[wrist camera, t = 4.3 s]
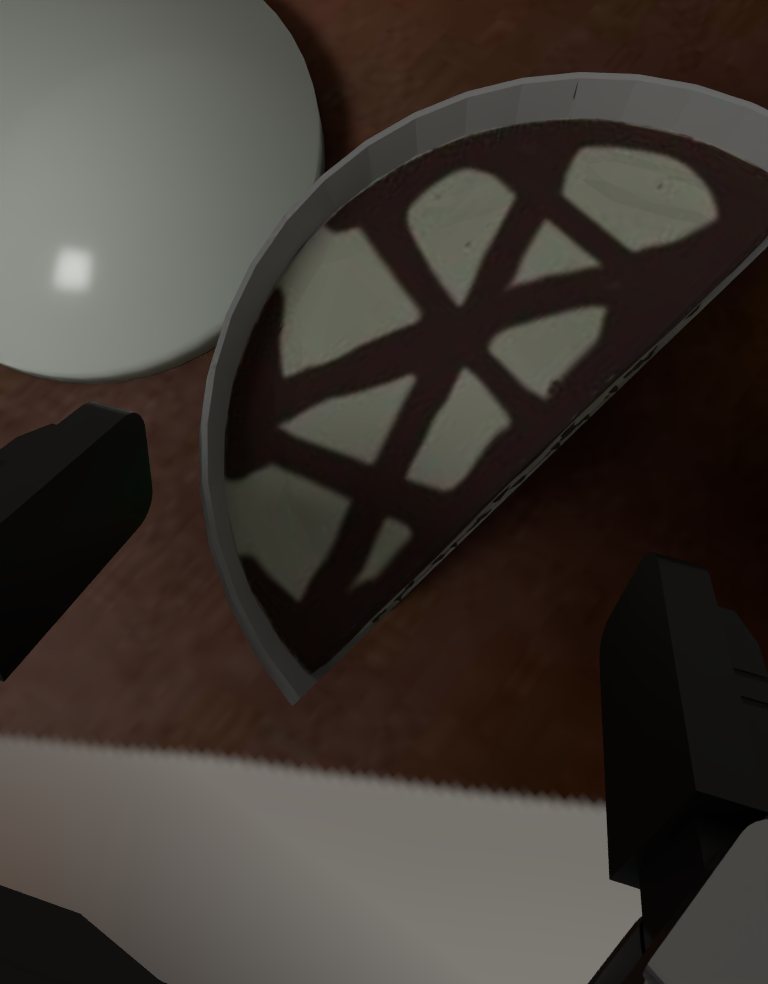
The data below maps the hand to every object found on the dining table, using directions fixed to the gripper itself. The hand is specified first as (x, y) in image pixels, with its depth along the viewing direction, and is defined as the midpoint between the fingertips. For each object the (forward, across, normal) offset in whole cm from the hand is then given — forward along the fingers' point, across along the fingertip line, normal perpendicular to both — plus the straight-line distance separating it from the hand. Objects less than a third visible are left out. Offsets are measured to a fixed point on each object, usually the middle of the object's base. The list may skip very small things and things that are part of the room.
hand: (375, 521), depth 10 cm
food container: (+9, 0, +4) cm, 10 cm away
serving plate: (+13, +13, 0) cm, 19 cm away
